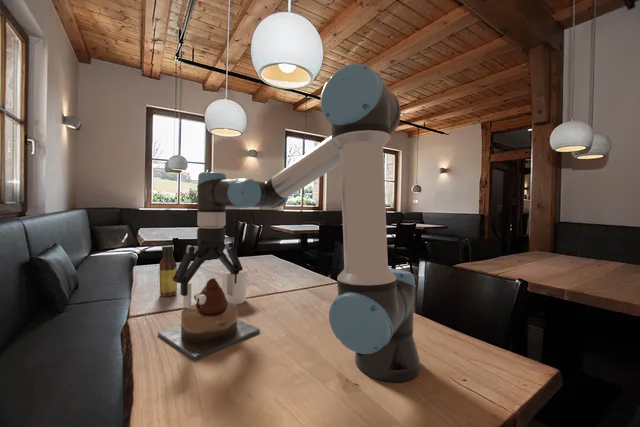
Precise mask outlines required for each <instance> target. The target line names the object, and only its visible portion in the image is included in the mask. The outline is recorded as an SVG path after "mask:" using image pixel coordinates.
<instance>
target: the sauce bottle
mask: <svg viewBox="0 0 640 427" xmlns="http://www.w3.org/2000/svg"><path fill="white" fill-rule="evenodd" d="M161 251H162V258H161V260H160V261H159V272H158V274H159V276H158V277H159V295H160V296H161V297H163V298H164V297H165V298H166V297H167V298H168V297H172V296H175V295H176V294H177V292H178V283H177V282H175V281H173V278H174V275H175V273H176V271H177V269H178V267H177V266H178V265H177V262H176V261H175V258H174V245H163V246H161Z"/></svg>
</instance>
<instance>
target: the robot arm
mask: <svg viewBox="0 0 640 427" xmlns="http://www.w3.org/2000/svg"><path fill="white" fill-rule="evenodd" d="M320 109H321V111H322V112H321V113H322V114H323V116H324V117H325V119H326V120H327V121H328V122H329V123H331V124H330V125H331V127H330V128H331V129H330V130H331V135H330V136H329V137H327V138H326V139H325V140H323V141H322V142H320V143H319V144H317V145H316V146H314V147H313V148H312V149H311V150H309V151H307V152H306V153H304V155H302V156H301V157H299V158H298V159H296V160H295V161H293V162H292V163H291V164H289V165H288V166H286V167H285V168H283V169H282V170H281V171H280V172H278V173H276V174H275V175H274V176H272V177H271V178H269V179H268V180H266V181H258V180H257V181H256V180H254V179H251V178H243V177H239V178H234V179H233V178H232V179H230V178H229V179H227V176H226V174H225V173H222V172H218V171H217V172H216V171H202V172H200V173H199V174H198V175H197V176H198V178H197V179H198V180H197V185H196V188H197V220H196V221H197V223H196V224H197V226H198V228H197V229H196V240H197V244H196V245H188V244H187V245H186V246H185V251H184V255H183V257H182V259H181V261H180V263H179V266H178V267H177V271H176V273H175V275H174V278H173V281H175V282H177V284H180V289H179V290H180V292H179V293H180V296H182V298H183V300H182V301H183V304H182V305H183V307H185V308H191V305H192V283H191V282H190V281H191V280H192V278H193V277H194V276H195V274H196V273H197V272H198V270H199V269H200V268H201V266H202V264H204V263H205V262H206V261H212V260H220V262H221V263H222V264H223V265H224V267H225V269H228V270H229V271H230V272H231V273H227V294H228V295H231V296H234V292H235V284H236V282H237V274H239V271H241V270H242V269H243V268H244V267H243V265H242V264H241V261H240V259H239V257H238V256H239V255H238V254H237V252H236V249H235V243H234V242H233V241H228V240H227V241H226V242H225V240H226V228H225V226H226V223H227V221H226V220H227V219H226V213H227V212H226V207H228V208H229V207H231V208H240V209H247V208H269V209H275V208H280V207H283V206H285V205H286V204H287V201H288V199H289V198H290V197H291V196H293V195H294V194H295V193H297V192H299V191H300V190H302V189H304V188H305V187H307V186H308V185H310V184H312V183H313V182H315V181H316V180H318V179H319V178H321V177H323V176H324V175H326V174H328V173H329V172H330V171H332V170H333V169H335V168H337V167H339V166H340V184H341V209H342V210H341V213H342V215H341V216H342V235H343V236H342V239H343V263H344V264H343V265H344V268H343V270H341V272H340V273H339V274H338V275H337V278H336V279H337V296H336V298H334V300H333V301H332V302H331V304H330V306H329V311H328V321H329V325H330V329H331V330H332V332H333V335H334V336H335V337H336V339H337V340H339V341H340V342H341V344H342V345H343V346H344V347H345V348H347V349H348V350H350V351H352V352H355V358H354V359H355V361H354V362H355V365H356V366H357V368H358V369H359V370H360V371H361V372H362V373H364V374H365V375H367V376H369V377H371V378H373V379H375V380H379V381H384V382H389V383H403V382H408V381H411V380H413V379H415V378H417V376H418V375H419V373H420V369H421V368H420V366H421V364H420V356H419V352H418V349H417V345H416V343H415V339H414V317H415V316H414V313H415V310H414V309H415V290H416V284H415V283H416V281H415V280H416V279H415V275H414V274H413V273H412V272H410V271H407V270H402V269H396V268H391V267H390V268H389V264H388V263H389V262H388V259H389V258H388V257H389V256H388V241H387V240H388V235H387V232H388V231H387V216H386V215H387V212H386V210H387V209H386V190H385V185H386V184H385V166H384V164H385V163H384V162H385V161H384V147H385V146H386V144H387V143H388V142H389V141H390V139H391V136H392V135H393V134H394V133H395V131H396V129H397V128H398V126H399V123H400V121H401V120H400V119H401V117H402V116H401V113H402V111H401V104H400V102H399V99H398V97H397V95H395V94H394V92H392V90H391V89H390V88H389V87H388V86H387V85H386V83H385V82H384V81H383V79H382V77H381V75H380V74H379V73H378V72H377V71H375V70H373V69H372V68H371V67H370V66H369V65H367V64H364V63H363V64H362V63H356V62H355V63H349V64H347V65H344V66H342V67H340V68H339V69H337V70H336V71H335V72H333V73H332V74H331V77H330V78H329V80H327V81H326V82H325V84H324V86H323V88H322V91H321V95H320ZM225 249H226V252H227V254H228V256H229V258H228V257H227V255H226V254H225V252H224V251H225ZM196 252H197V255H196V256H195V255H194V254H196ZM194 256H195V257H194ZM193 258H194V260H193ZM229 259H230V260H229ZM192 260H193V261H192Z"/></svg>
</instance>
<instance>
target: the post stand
mask: <svg viewBox="0 0 640 427" xmlns="http://www.w3.org/2000/svg"><path fill="white" fill-rule="evenodd" d="M180 315H181V316H180V321H181V322H180V323H181V324H178V325H175V326H173V327H170V328H167V329H162V330H160V331H157V336H158V337H159V338H161V339H162V340H164V341H165V342H167V343H168V344H169V345H171V346H172V347H173V348H175V349H176V350H178V351H179V352H181V353H183V354H184V355H185V356H187V357H188V358H190V359H192V360H193V361H197V360H199V359H200V360H201V359H202V358H203V357H206V356H208V355H211V354H213V353H215V352H218V351H220V350H222V349H225V348H227V347H230V346H232V345H234V344H236V343H238V342H241V341H243V340H245V339H248V338H249V337H250V338H251V337H252V336H255V335H257V334H259V333H260V332H261V329H260V328H258V327H256V326H254V325H251V324H250V323H247V322H244V321H243V320H240V319H238V305H235V304H233V303H230V302H228V306H227V309H226V310H225V311H224V312H222V313H220V314H215V315H205V314H202V313H201V312H200V311H199V310H198V309H197V308H196V303H195V304H193V305H192V304H191V308H187V307H185V308H184V309H183V310H182V311H181V314H180Z"/></svg>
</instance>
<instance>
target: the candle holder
mask: <svg viewBox="0 0 640 427" xmlns="http://www.w3.org/2000/svg"><path fill="white" fill-rule="evenodd" d="M242 268H243V269H242V270H241V271H239V274H237V282H236V284H235V292H234V296H231V295H228V294H227V273H231V272H230V271H229V270H228V269H227V268H224V269H222V270H221V271H220V274H221V288H222V290H223V292H224V294H225V298H226V299H227V302H230V303H233V304H235V305H236V306H238V305H239V304H240V305H241V304H243V303H245V301H246V296H247V284H248V283H247V282H248V272H249V271H248V269H247V268H244V267H242Z"/></svg>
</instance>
